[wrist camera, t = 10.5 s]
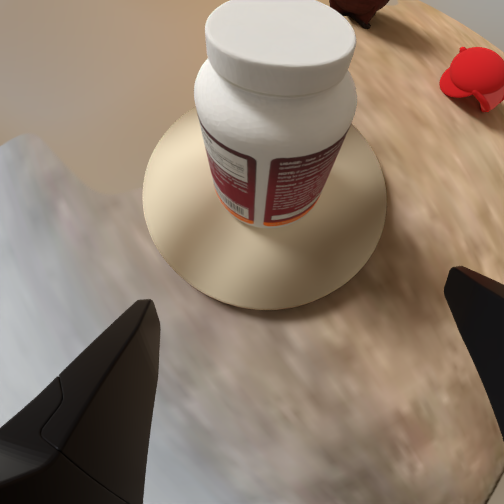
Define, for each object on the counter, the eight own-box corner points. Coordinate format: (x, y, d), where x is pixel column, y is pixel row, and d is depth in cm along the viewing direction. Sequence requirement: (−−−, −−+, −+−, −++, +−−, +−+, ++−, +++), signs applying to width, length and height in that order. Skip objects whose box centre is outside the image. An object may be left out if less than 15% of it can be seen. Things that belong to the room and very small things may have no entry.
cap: (483, 53, 21) (461, 21, 18) (523, 82, 18) (508, 48, 15) (447, 101, 26) (422, 75, 23) (484, 133, 23) (464, 108, 20)
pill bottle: (321, 146, 19) (370, 0, 8) (316, 238, 17) (398, 109, 7) (223, 134, 19) (206, -19, 8) (205, 224, 17) (152, 79, 7)
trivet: (415, 187, 20) (423, 179, 18) (278, 364, 17) (280, 367, 16) (255, 72, 22) (255, 62, 21) (105, 200, 19) (98, 192, 18)
